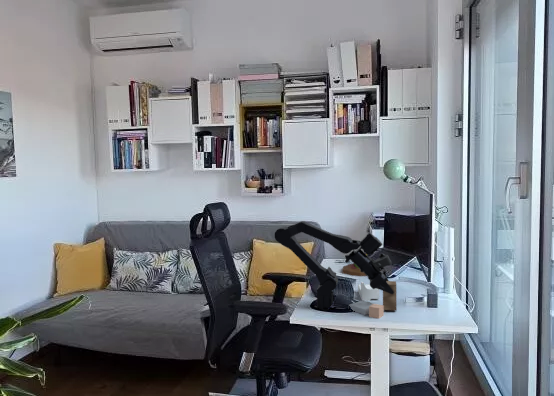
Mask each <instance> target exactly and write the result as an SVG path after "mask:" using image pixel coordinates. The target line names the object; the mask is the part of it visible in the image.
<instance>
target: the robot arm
mask: <svg viewBox="0 0 554 396" xmlns="http://www.w3.org/2000/svg"><path fill="white" fill-rule="evenodd" d="M301 233H303V234H306V235H308V236H310V237H313V238H315V239H317V240H320V241H322V242H325V243H326V244H329V245H330V246H332V247H333V248H334V249H335V250H337V251H339V252H340V253H342V254H345V256H344V258H345V263H346V264H348V263H349V262H350V261H351V262H352V263H354V264H355V265H356V266H357V267H358V268H359V269H360V271H361V272H363V273H364V274H365V275H366V276H365V277H367V279H368V281H369V284H370V286H371V287H372V288H373V289H375V288H377V289H379V291H382V292H383V291H385V292H388V293H390V294H394V291H393V290H392V288H391V287H390V286H389V284H388V283H387V281H390V280H389V279H388V277H387V271H386V267H387V266H390V265H392V264H393V263H392V260H391V259H390V257H389V255H388V254H385V253H383V252H382V253H379V257H377V258H376V259H375V258H370V257H369V256H368V255H373V254H375V253H376V251H378V249H380V248H381V247H382V246H383V243H382V241H381V240H380V239H379V238H378V237H377V236H375V235H374V234H372V233H371V232H370V231H369V232H368V233H367V234H366V236H365V237H364V238H363V239H361V240H357V239H352V238H351V237H350V236H348V235H342V234H335V233H331V232H329V231H327V230H324V229H322V228H320V227H318V226H315V225H312V224H310V223H307V222H306V221H305V220H300V221H299V222H297V223H295V224H292V225H290V226H287V225H286V226H281V227H279V228H278V229H277V230H275V232H274V239H275V240H276V242H278V243H279V244H280V245H281V246H283V247H285V248H287V249H289V250H290V251H291V252H292V253H293V254H294V255H295V256H296V257H297V258H298V259H299V260H300V261H301V262H302V263H303V264H304V265H305V266H306V267H307V268H308V269H309V270H310V271H311V273H313V274H314V275H315V277H316V279H317V280H318V283H319V284H318V286H317V288H316V305H317V306H316V305H314V308H315V309H318V308H319V310H321V311H324V312H327V311H330V310H329V309H328V308H329V307H330V306H331V305H332V303H333V301H334V302H335V294H334V291H335V289H336V288H337V285H338V283H339V278H338V276H337V273H336V272H335V271H333V270H332V268H331V266H328V267H326V268H325V267H324V266H322V264H320V262H318V260H317V259H315V257H314V256H313V255H311V254H310V252H308V251H307V249H306V248H305V247H304V246H303V245H302V244H301V243H300V242H299V241H298V239H297V238H296V235H298V234H301ZM365 253H366V254H367V255H366V254H365ZM382 270H383V271H382ZM380 271H381V272H380Z"/></svg>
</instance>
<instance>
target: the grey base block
mask: <svg viewBox="0 0 554 396" xmlns="http://www.w3.org/2000/svg"><path fill="white" fill-rule="evenodd" d="M372 304H374V303H373V302H370V301H363V300H359V301H355V302H353V303H350V304H348V307H349V306H350V307H351V309H352V310H353V311H352V312H354V311H355V313H358V314H362V315H365V316H366V315H369V306H371V305H372Z"/></svg>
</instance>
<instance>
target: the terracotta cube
mask: <svg viewBox="0 0 554 396" xmlns="http://www.w3.org/2000/svg"><path fill="white" fill-rule="evenodd" d="M384 311H385V310H384V305H383V304H378V303H373V304H372V305H371V306H369V314H368V316H369V318H373V319H381V318H383V317H384V315H385V314H384Z"/></svg>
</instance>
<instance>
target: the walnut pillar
mask: <svg viewBox="0 0 554 396" xmlns="http://www.w3.org/2000/svg"><path fill="white" fill-rule="evenodd" d="M387 283H388V284H389V286H390V287H391V288H392V290H393V291H394V294H390V293H388V292H385V291H383V290H382V305H384V311H397V310H398V309H397V305H398V304H397V281H396V280H395V281H394V280H393V281H392V280H389V281H387Z"/></svg>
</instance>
